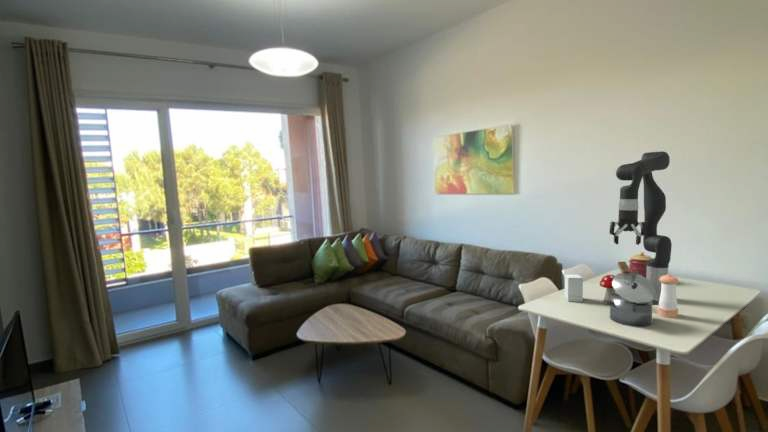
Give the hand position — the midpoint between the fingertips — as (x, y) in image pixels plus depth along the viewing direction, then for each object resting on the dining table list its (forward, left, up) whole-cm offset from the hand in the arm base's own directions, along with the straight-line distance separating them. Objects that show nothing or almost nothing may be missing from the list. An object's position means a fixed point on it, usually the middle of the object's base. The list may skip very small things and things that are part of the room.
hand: (626, 244), depth 182 cm
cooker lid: (+1, +7, -17) cm, 18 cm away
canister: (-36, -58, -33) cm, 76 cm away
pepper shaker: (-18, +1, -33) cm, 38 cm away
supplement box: (+15, -23, -33) cm, 43 cm away
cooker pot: (+1, +8, -33) cm, 34 cm away
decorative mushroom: (0, -15, -33) cm, 37 cm away
